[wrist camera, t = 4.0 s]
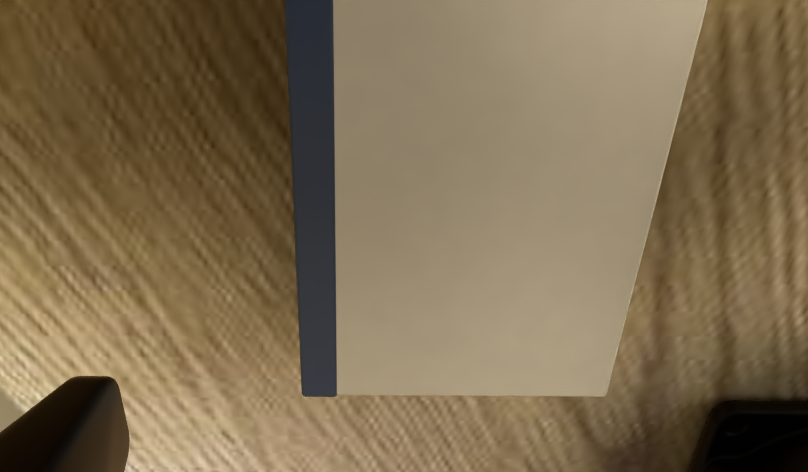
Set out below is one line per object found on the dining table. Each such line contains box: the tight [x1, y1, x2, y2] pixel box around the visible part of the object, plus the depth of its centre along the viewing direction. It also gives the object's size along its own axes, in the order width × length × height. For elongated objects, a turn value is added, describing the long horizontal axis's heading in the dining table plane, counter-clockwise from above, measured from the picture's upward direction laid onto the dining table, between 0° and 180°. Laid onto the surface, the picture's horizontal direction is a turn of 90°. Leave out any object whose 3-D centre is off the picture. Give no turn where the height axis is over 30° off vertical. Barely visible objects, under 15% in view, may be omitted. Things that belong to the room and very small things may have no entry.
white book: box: [284, 0, 708, 397], centre depth 13 cm, size 6×9×3 cm
